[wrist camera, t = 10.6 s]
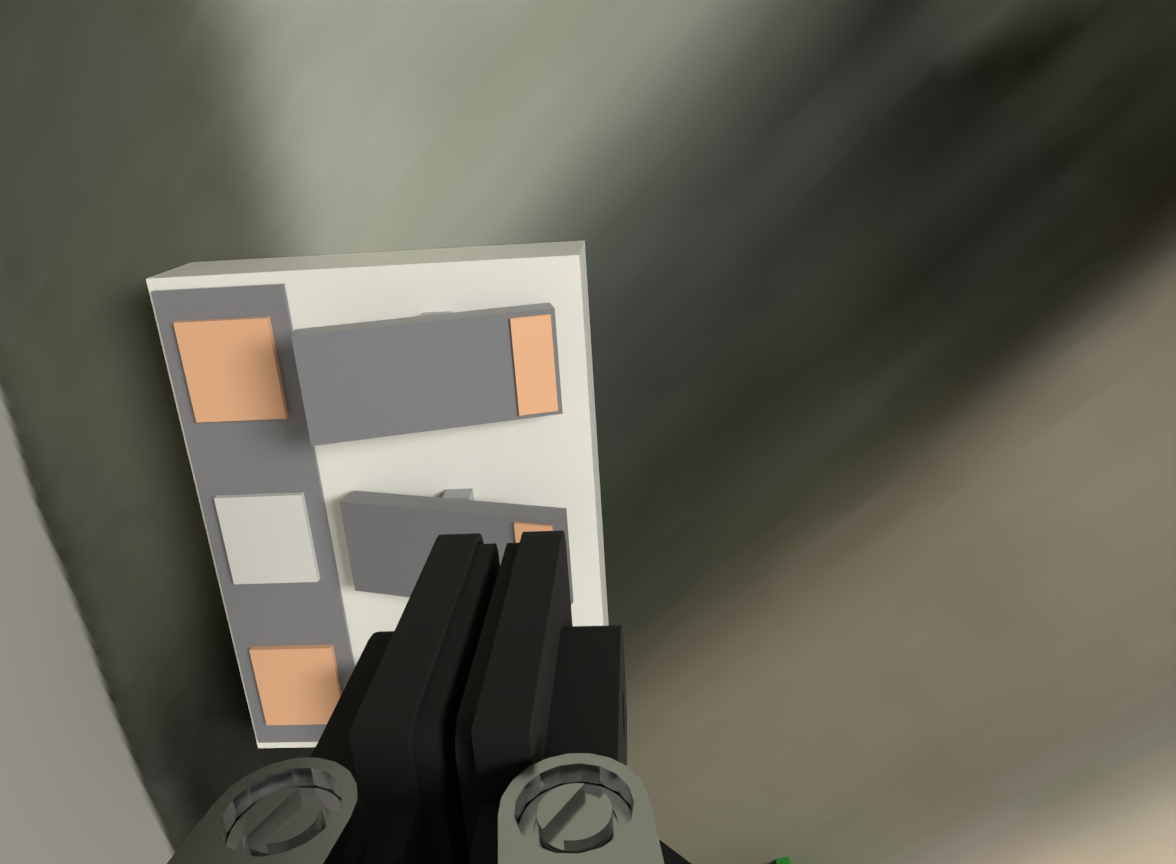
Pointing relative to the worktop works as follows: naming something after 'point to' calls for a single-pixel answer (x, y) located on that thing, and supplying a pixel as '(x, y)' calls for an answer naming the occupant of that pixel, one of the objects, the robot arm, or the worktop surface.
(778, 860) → the pipe clamp
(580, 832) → the robot arm
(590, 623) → the switch unit
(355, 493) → the rocker
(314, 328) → the block
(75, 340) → the worktop surface
